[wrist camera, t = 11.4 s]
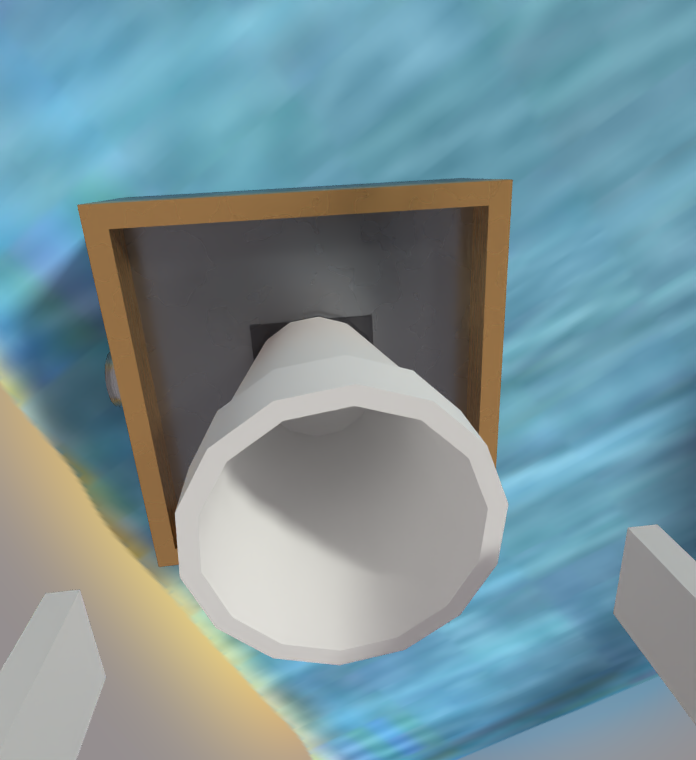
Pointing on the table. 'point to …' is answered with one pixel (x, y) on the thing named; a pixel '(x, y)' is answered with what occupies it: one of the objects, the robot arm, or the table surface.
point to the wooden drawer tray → (291, 300)
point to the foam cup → (337, 503)
